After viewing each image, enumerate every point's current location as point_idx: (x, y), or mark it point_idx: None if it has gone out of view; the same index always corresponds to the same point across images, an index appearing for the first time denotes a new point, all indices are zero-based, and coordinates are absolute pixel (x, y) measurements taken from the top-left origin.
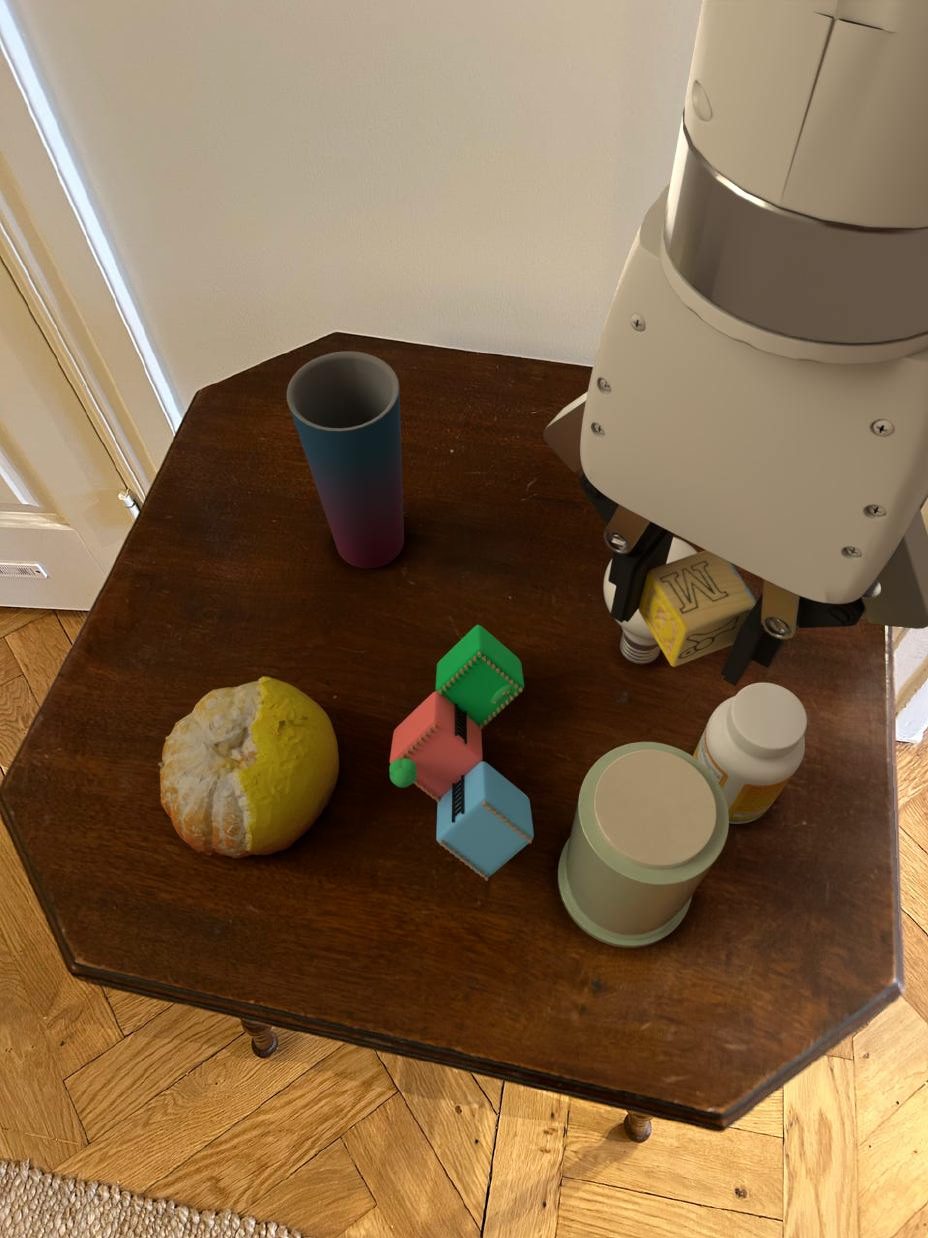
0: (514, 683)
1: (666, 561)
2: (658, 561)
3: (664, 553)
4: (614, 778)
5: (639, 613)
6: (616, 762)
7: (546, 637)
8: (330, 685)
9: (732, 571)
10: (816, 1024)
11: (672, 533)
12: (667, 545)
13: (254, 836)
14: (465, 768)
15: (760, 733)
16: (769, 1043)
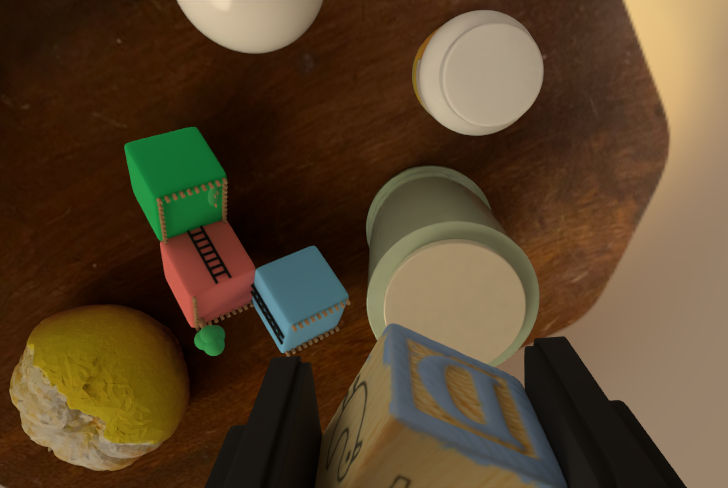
0: (214, 182)
1: (303, 388)
2: (301, 477)
3: (297, 453)
4: (398, 313)
5: (264, 44)
6: (388, 297)
7: (190, 57)
8: (80, 259)
9: (471, 464)
10: (631, 220)
11: (284, 484)
12: (292, 466)
13: (164, 439)
14: (249, 282)
15: (497, 109)
16: (602, 257)
